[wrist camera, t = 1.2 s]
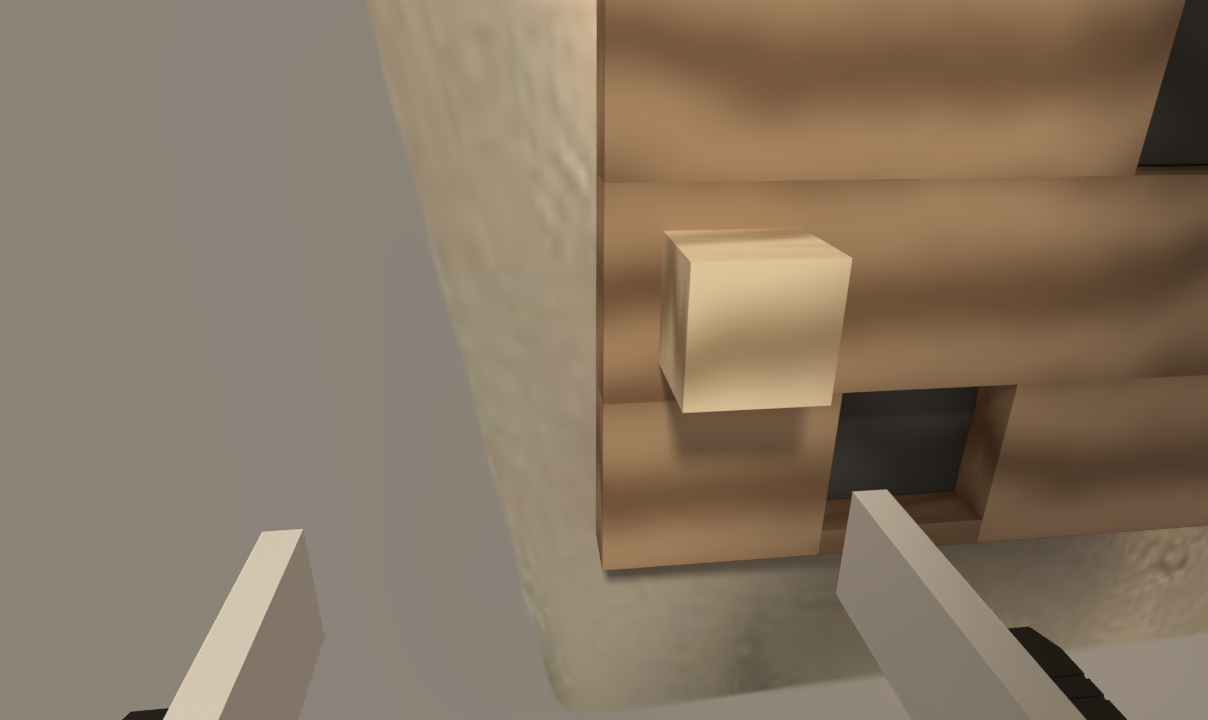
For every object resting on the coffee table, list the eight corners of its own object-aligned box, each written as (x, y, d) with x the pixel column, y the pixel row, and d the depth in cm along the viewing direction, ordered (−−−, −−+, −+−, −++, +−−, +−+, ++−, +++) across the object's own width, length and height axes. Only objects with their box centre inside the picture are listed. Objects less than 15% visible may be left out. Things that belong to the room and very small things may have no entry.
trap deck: (596, -78, 28) (617, -111, 22) (1466, -55, 32) (1664, -78, 26) (596, 534, 39) (609, 612, 34) (1237, 490, 43) (1342, 552, 38)
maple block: (663, 230, 30) (691, 262, 25) (801, 227, 30) (852, 258, 26) (658, 362, 32) (682, 412, 27) (786, 356, 33) (830, 405, 28)
